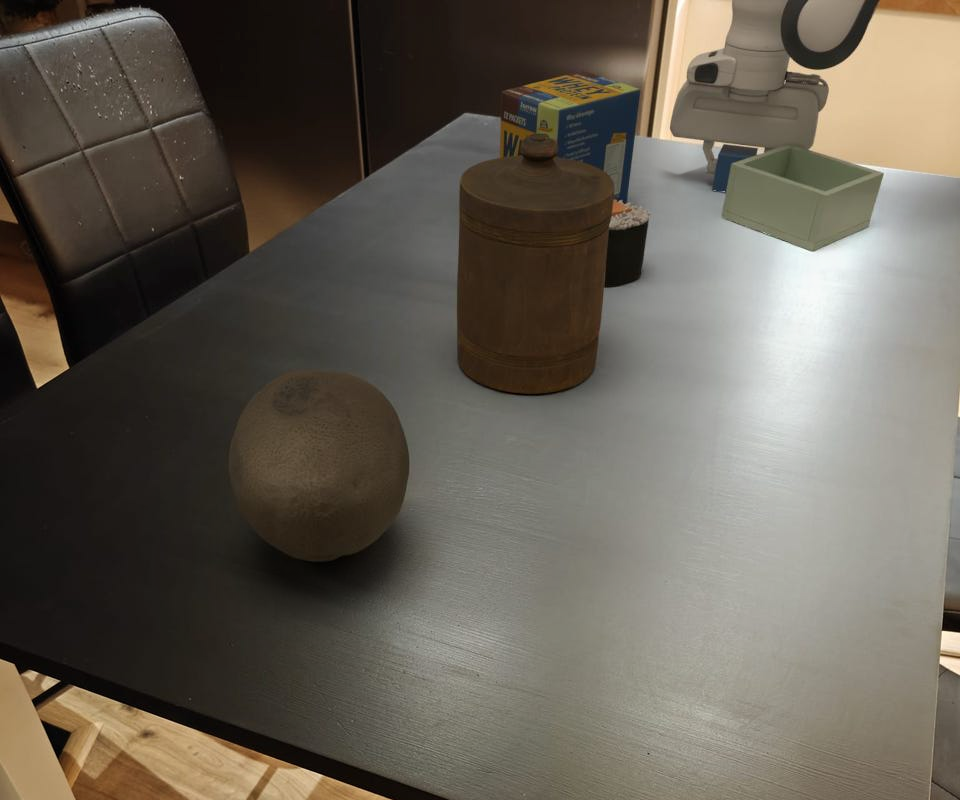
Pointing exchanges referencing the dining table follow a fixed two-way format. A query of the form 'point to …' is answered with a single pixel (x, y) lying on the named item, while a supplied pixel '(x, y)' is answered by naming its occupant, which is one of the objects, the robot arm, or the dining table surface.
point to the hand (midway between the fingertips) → (733, 176)
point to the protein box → (576, 121)
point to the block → (729, 163)
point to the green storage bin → (801, 196)
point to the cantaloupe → (319, 464)
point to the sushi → (625, 243)
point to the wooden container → (531, 268)
